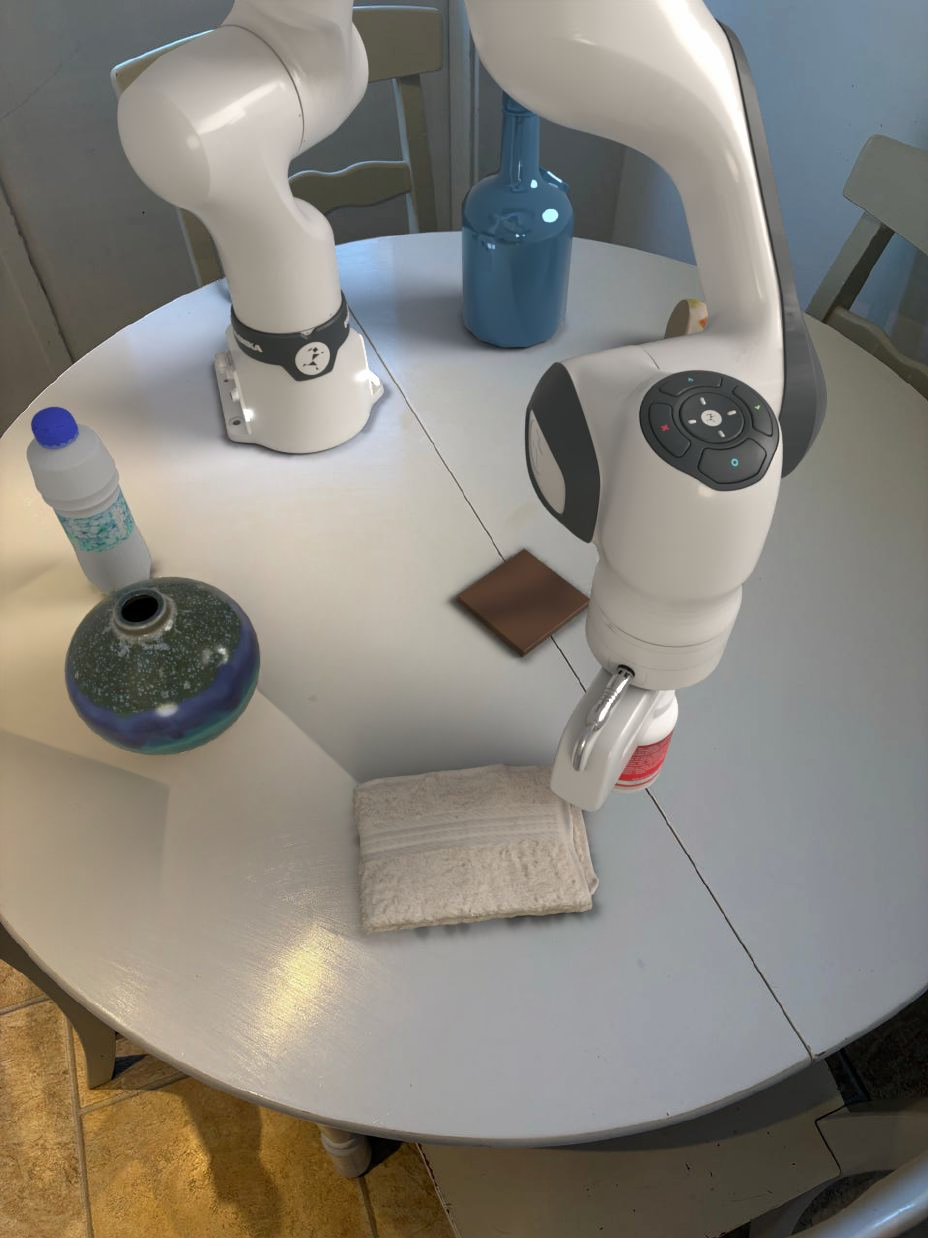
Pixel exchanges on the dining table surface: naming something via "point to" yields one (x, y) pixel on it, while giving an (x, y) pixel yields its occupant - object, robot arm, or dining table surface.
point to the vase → (162, 665)
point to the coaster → (523, 601)
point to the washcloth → (469, 848)
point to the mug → (686, 318)
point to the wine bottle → (516, 241)
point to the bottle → (87, 500)
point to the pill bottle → (650, 748)
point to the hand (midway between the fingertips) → (627, 732)
